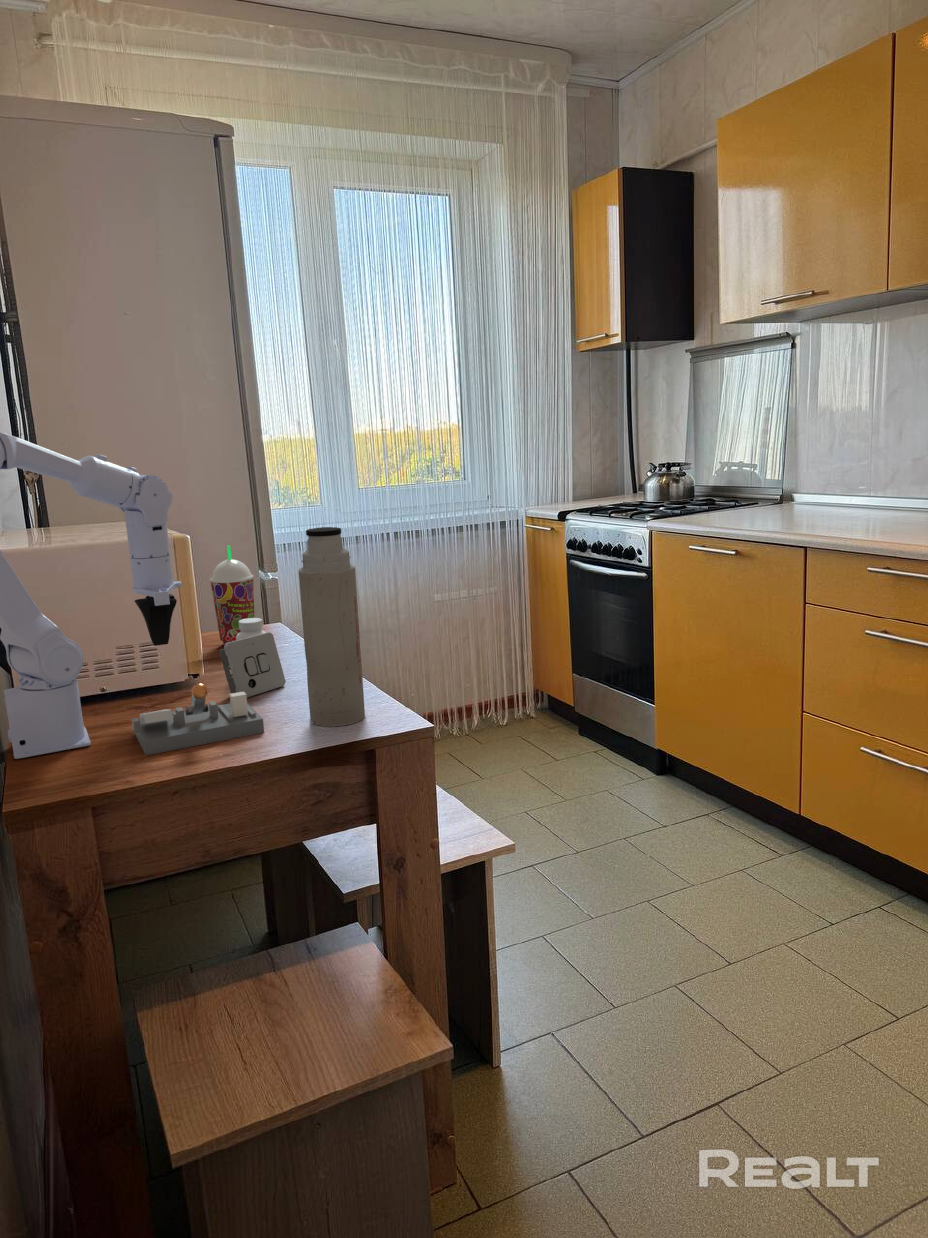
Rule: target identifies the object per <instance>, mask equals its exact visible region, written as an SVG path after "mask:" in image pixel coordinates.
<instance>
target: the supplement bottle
mask: <svg viewBox="0 0 928 1238" xmlns="http://www.w3.org/2000/svg"><path fill="white" fill-rule="evenodd" d="M263 624H264V623H263V619H262V618H259V617H255V618H247V619H242V620H240V621H239V629H240V630H241V632H240V633H238V634H237V636H236V640H240V639H244V638H248V637H252V636H255V635H259V634H263V633H267V631H266V630H263V629H262V628H263V626H264V625H263Z"/></svg>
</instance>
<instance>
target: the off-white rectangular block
mask: <svg viewBox="0 0 928 1238" xmlns="http://www.w3.org/2000/svg"><path fill="white" fill-rule="evenodd" d="M229 703H230V705H231V714H232V715H233V716H234V717H237V716H243V715H248V707H247V703H248V697H246V694H245V693H244V692H238V693H232V694H231V693H229Z"/></svg>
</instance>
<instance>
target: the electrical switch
mask: <svg viewBox="0 0 928 1238" xmlns="http://www.w3.org/2000/svg"><path fill="white" fill-rule="evenodd" d="M223 646H224V645H223ZM218 653H219V657H220V660H221V663H222V667H223V671H224V674H225V677H226V681H227V685H228V689H229V692H230V693H229V694H232V693H238V692H244V693H245V694H246V697H247V698H250V697H253V696H256V695H259V694H263V693H266V692H269V691H271V690H275V689H278V688H282V687H283V686H285V685H286V682H287V681H286V677H285V674H284V670H283V666H282V664H281V660H280V656H279V652H278V648H277V644H276V641H275V637H274V635H273V633H271V632H269V631H268V632H266V633H263V634H259V635H255V636H252V637H248V638H244V639H240V640H236V641H232V642H228V643H226V644H225V646H224V647H223V648H221V649H219V650H218Z"/></svg>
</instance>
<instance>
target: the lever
mask: <svg viewBox="0 0 928 1238" xmlns="http://www.w3.org/2000/svg"><path fill="white" fill-rule="evenodd" d="M208 694H209V688H208V686H207V685H206V684H204V683H202V682H199V683H195V684H194V685H193V686H192V687H191V701H190V706H185V707H184V711H185V713H186V716H188V715H195V714H200V713H204V712H208V707H209V704H208V703H206V698H207V696H208Z"/></svg>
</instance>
